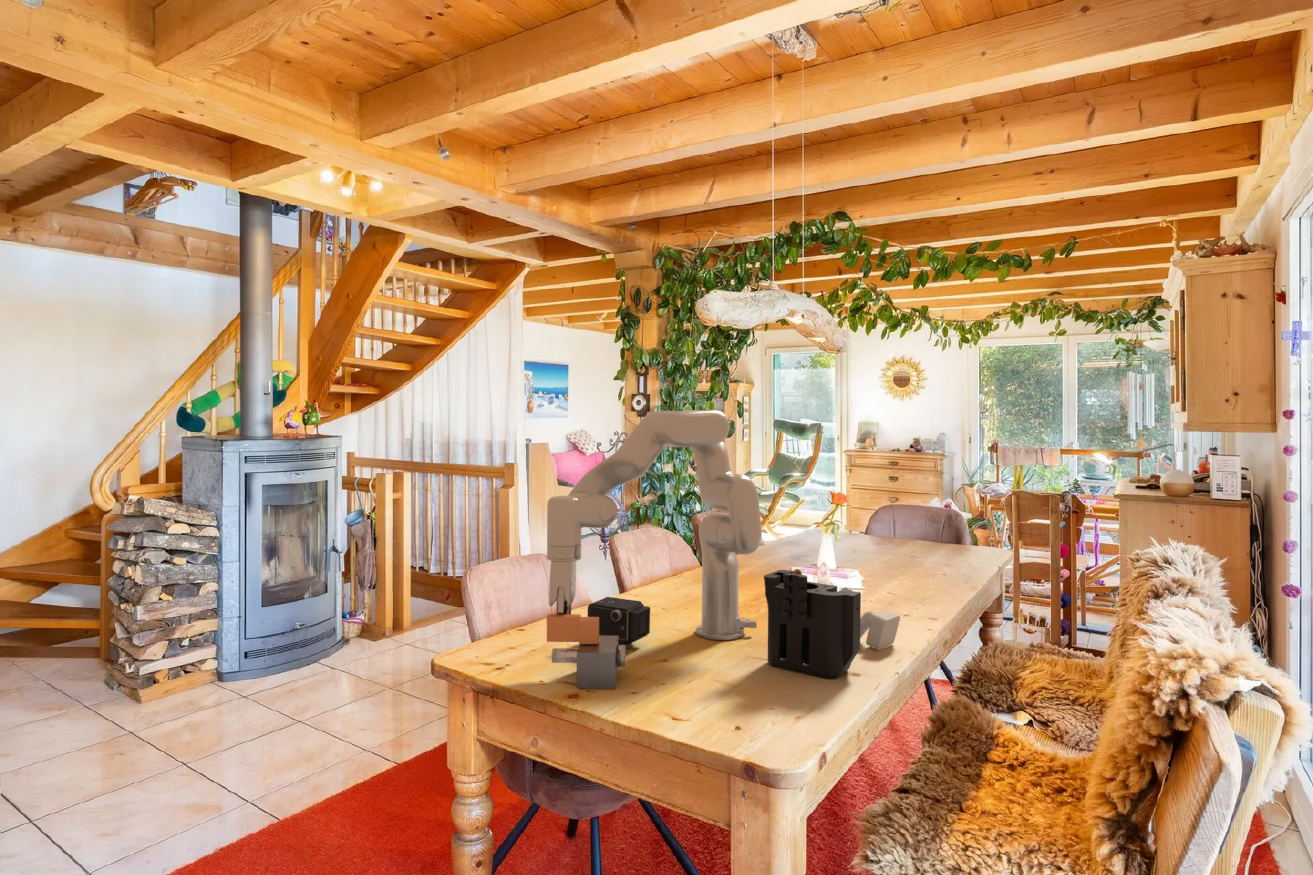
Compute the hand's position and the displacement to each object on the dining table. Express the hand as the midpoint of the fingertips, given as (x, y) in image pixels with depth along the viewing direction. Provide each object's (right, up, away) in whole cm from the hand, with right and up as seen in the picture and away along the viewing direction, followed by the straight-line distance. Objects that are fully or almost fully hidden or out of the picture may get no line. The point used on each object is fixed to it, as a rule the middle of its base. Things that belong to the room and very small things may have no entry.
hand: (563, 634), depth 162 cm
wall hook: (+74, -9, +21) cm, 78 cm away
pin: (+6, -6, -5) cm, 9 cm away
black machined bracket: (+55, -9, +2) cm, 56 cm away
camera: (+11, -8, +20) cm, 24 cm away
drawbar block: (+8, -8, -4) cm, 12 cm away
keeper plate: (+3, 0, -4) cm, 5 cm away
